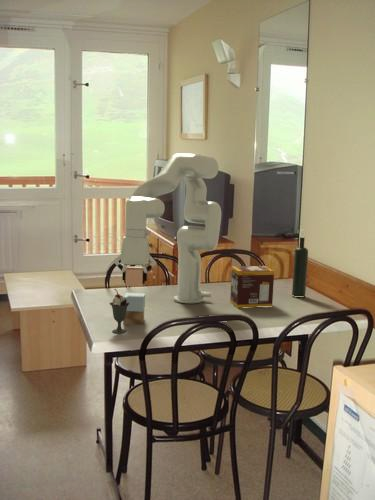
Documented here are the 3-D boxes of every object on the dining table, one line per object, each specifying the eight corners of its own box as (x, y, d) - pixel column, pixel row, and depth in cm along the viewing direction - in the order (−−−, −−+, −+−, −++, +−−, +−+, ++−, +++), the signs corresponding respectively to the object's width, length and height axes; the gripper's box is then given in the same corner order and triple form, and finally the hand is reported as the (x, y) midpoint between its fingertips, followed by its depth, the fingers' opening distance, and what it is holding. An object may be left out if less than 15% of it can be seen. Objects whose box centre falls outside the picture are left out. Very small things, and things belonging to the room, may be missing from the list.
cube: (143, 283, 220) (143, 267, 219) (142, 286, 214) (142, 270, 213) (127, 282, 220) (127, 266, 219) (125, 286, 214) (125, 269, 213)
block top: (144, 306, 222) (145, 293, 221) (142, 311, 215) (143, 298, 214) (125, 305, 222) (126, 292, 221) (123, 310, 215) (123, 297, 214)
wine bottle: (307, 297, 266) (312, 230, 261) (298, 298, 262) (302, 230, 257) (298, 294, 270) (302, 228, 265) (289, 295, 267) (293, 229, 262)
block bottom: (144, 319, 223) (144, 306, 222) (142, 324, 216) (142, 311, 215) (125, 318, 223) (125, 305, 222) (123, 324, 216) (123, 310, 215)
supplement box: (229, 302, 253) (231, 265, 250) (264, 301, 256) (266, 265, 253) (236, 308, 243) (238, 270, 240) (272, 307, 246) (274, 270, 244)
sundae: (109, 328, 210) (110, 287, 207) (129, 328, 210) (129, 287, 208) (108, 334, 203) (109, 291, 201) (128, 334, 204) (129, 291, 201)
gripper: (160, 233, 218) (158, 281, 221) (112, 231, 218) (112, 279, 221) (159, 235, 211) (157, 285, 213) (110, 234, 211) (109, 284, 213)
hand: (134, 282), depth 217 cm, fingers closed on cube, 6 cm apart
